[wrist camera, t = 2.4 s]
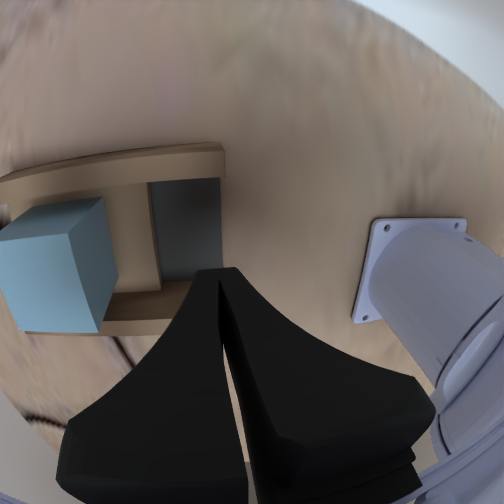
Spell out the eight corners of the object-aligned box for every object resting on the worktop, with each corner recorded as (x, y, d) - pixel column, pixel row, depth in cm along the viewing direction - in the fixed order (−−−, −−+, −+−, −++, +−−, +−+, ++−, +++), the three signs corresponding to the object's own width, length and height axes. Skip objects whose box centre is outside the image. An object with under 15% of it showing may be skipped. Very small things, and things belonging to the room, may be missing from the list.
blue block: (103, 196, 13) (67, 233, 9) (118, 277, 15) (98, 332, 11) (31, 207, 12) (-15, 243, 8) (51, 280, 14) (20, 330, 10)
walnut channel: (219, 142, 13) (224, 151, 10) (223, 290, 17) (230, 329, 14) (11, 172, 12) (-24, 189, 8) (46, 299, 15) (25, 333, 12)
